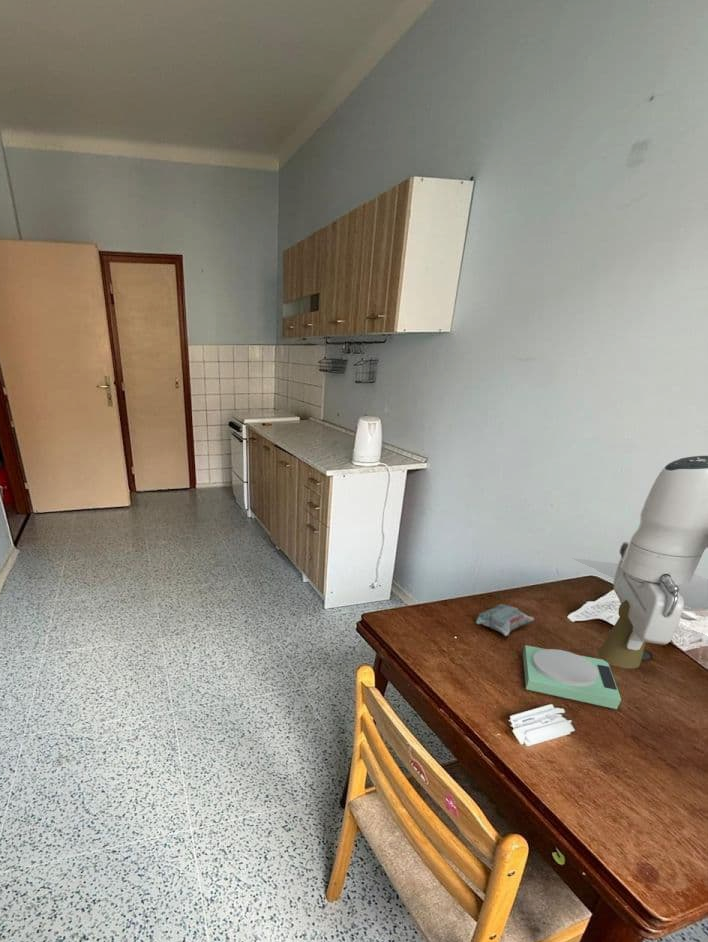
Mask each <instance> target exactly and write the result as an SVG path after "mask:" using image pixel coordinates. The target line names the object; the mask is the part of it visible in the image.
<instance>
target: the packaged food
mask: <svg viewBox="0 0 708 942" xmlns="http://www.w3.org/2000/svg"><path fill="white" fill-rule="evenodd" d="M519 609H520V608H519V607H514V606H511V605H507V604H503V603H499V604H498V605H496V606H494V607H492V608H490V609H487V610H485V611H482V612H480V613H479V614H478V615H477V617H476V621H475V623H476V625H483V626H485V627H487V628H489V629H491V630H493V631H495V632H498V633H501V635H503V636H505V637H508V636H509V635H510V633H511V632H512V631H513V630H515V629H518V628H519V627H521V626H524V625H527V624H529V623H530V622H533V621H534V620H535V617H534V616H530V615H527V614H526V613H524V612H523V611H521V610H519Z"/></svg>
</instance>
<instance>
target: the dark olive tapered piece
mask: <svg viewBox="0 0 708 942" xmlns="http://www.w3.org/2000/svg"><path fill="white" fill-rule="evenodd" d="M629 608H630V606H629V602H628V601H627V600H626V601H624V602H623V603H622V604H621V603H620V604H619V607H618V613H617V614H618V616H619V617H618V619H617V621H616V622H615V624H614V626H613V627H612V629H611V630H610V632H609V634H608V635H607V637H606V638H605V641H604V642H603V643H602V645H601V647H600V648H599V650H598V653H597V654H598V656H599V659H601V660H604V661H606V662H607V663H609V665H611V666H613V667H618V668H622V669H628V670H629V669H630V670H631V669H632V670H633V669H637V668H639V667H640V665H641V663H642V660H641V659H642V655H643V651H645V646H646V643H645V642H643V643H642V646H641V648H640V649H639V650H632V649H628V648H627V646H626V644H625V641H626V639H627V636H628V635H631V634H632V632H633V630H632V629H633V626H632V624H631V622H630V620H629V618H628V613H629Z"/></svg>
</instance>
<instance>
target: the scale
mask: <svg viewBox="0 0 708 942" xmlns="http://www.w3.org/2000/svg"><path fill="white" fill-rule="evenodd" d="M522 662H523V663H522V664H523V671H524V673H523V674H524V685H525V690H527V691H531V692H536V693H540V694H546V695H550V696H555V697H559V698H564V699H567V700H568V699H569V700H573V701H578V702H581V703H587V704H591V705H596V706H600V707H604V708H609V709H615V710H618V708H619V706H620V704H621V702H622V698H621V695H620V692H619V689H618V685H617V684H616V683H617V682H616V680H615V677H614V674H613V672H612V669H611V667H610V664H609V663H607V662H606V661H604V660H603V659H602V658H596V657H590V656H585V655H581V654H580V655H579V654H576V653H574V652H572V651H571V652H570V651H568V650H563V649H556V648H555V649H554V648H549V649H548V648H542V647H539V646H533V645H532V646H531V645H527V644H525V645H524V649H523V652H522Z"/></svg>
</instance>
